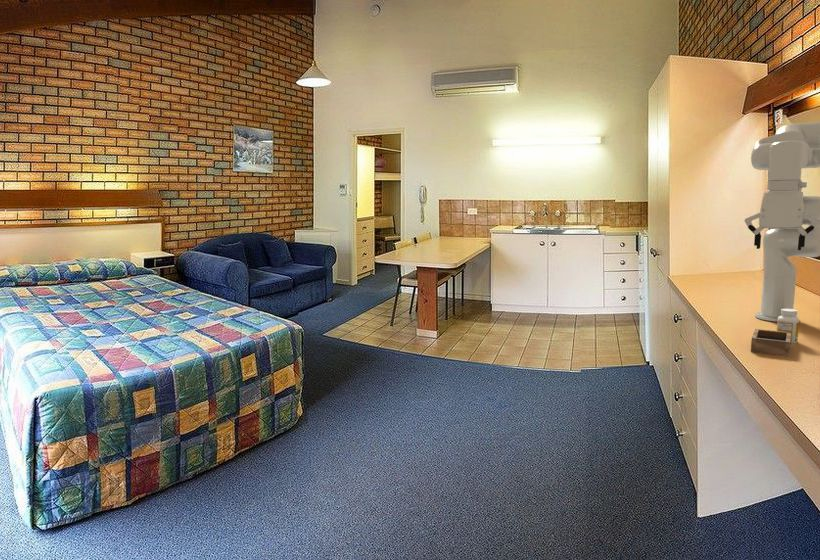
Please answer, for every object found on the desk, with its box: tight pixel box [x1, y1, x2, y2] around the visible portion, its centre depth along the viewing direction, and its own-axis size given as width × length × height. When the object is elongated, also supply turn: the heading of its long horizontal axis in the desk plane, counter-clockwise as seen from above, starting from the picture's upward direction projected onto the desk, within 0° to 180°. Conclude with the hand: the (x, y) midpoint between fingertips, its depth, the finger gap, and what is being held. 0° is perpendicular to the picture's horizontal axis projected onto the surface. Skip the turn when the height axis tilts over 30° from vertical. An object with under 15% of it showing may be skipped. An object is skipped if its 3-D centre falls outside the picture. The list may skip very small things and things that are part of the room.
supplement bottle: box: [776, 309, 800, 345], centre depth 167 cm, size 5×5×10 cm
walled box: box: [750, 328, 791, 357], centre depth 160 cm, size 12×9×4 cm
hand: (778, 249), depth 156 cm, fingers open, 9 cm apart
